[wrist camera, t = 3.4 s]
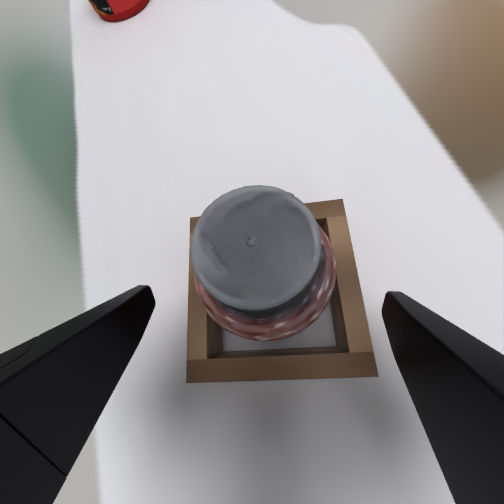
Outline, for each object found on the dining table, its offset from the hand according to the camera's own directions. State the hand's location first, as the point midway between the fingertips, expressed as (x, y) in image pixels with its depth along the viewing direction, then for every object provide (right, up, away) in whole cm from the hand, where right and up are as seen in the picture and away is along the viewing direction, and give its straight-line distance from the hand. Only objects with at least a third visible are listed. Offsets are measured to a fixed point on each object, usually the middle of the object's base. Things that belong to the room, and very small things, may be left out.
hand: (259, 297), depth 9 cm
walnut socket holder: (+1, -1, +9) cm, 9 cm away
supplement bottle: (+1, -1, +9) cm, 9 cm away
